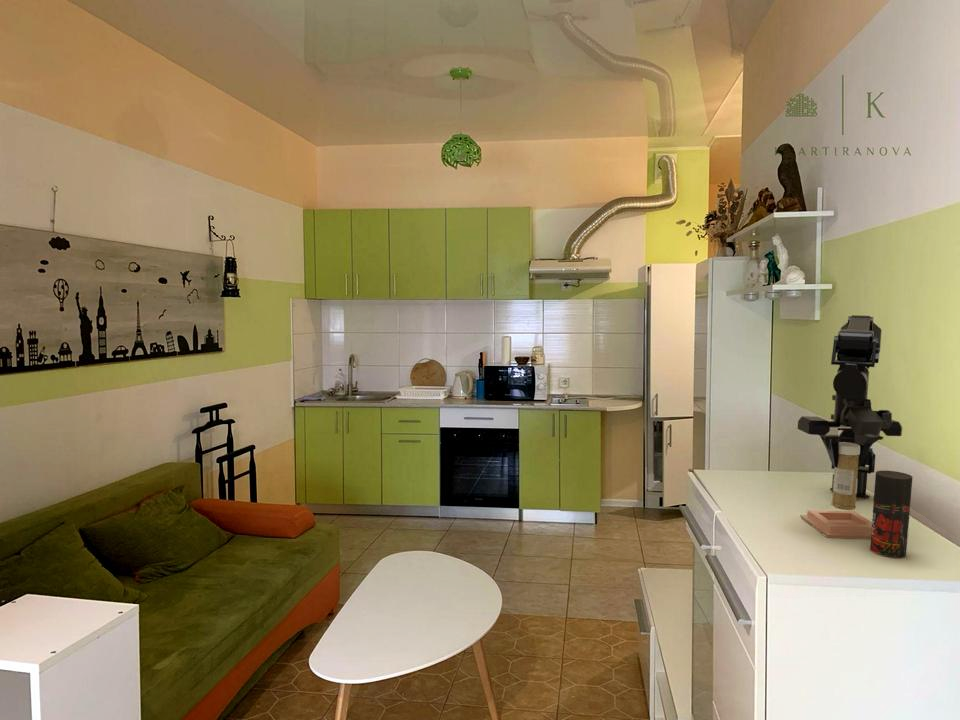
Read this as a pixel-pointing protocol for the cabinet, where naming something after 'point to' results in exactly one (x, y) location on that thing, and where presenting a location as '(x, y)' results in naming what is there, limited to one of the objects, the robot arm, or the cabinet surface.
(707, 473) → the cabinet surface
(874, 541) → the deodorant
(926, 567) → the cabinet surface
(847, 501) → the sprinkles bottle
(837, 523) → the tray
